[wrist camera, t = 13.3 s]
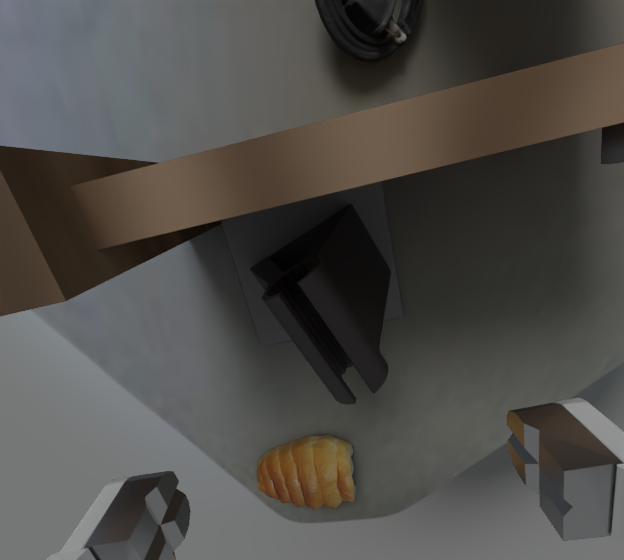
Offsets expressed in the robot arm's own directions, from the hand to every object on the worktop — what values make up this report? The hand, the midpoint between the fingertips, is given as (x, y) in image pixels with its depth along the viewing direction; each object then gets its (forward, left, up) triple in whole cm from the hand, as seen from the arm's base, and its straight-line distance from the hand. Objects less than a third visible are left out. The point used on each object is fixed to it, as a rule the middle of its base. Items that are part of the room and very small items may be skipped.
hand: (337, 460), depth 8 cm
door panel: (-5, -6, -18) cm, 20 cm away
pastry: (+5, +19, -19) cm, 27 cm away
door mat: (0, 0, -18) cm, 18 cm away
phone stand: (0, 0, -18) cm, 18 cm away
